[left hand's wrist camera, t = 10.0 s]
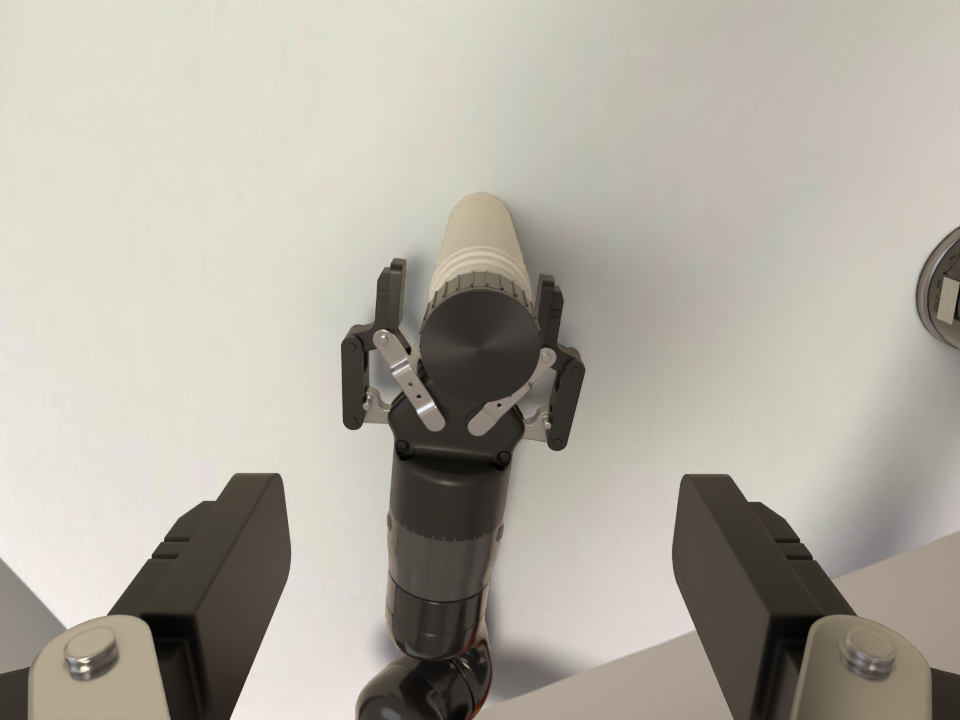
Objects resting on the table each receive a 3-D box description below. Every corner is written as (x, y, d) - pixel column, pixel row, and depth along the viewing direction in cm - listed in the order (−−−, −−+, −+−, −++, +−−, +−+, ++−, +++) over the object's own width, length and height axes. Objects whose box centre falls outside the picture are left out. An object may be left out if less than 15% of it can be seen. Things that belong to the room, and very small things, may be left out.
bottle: (513, 194, 42) (550, 283, 20) (509, 257, 43) (539, 406, 21) (449, 190, 42) (416, 276, 20) (447, 254, 43) (414, 399, 21)
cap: (541, 272, 22) (548, 290, 20) (531, 379, 23) (537, 407, 21) (425, 266, 22) (419, 283, 20) (423, 373, 23) (416, 402, 21)
